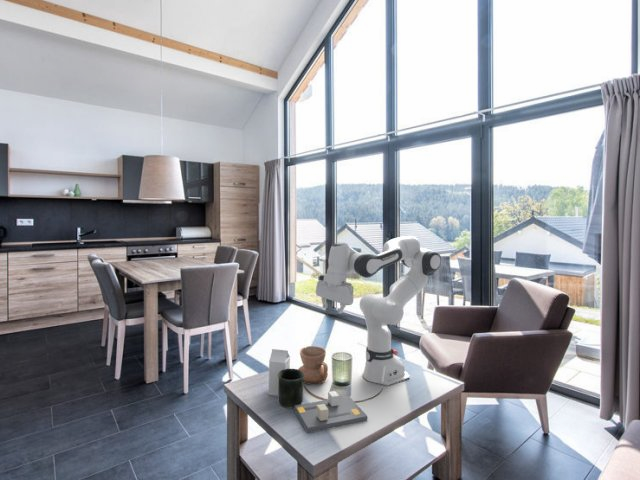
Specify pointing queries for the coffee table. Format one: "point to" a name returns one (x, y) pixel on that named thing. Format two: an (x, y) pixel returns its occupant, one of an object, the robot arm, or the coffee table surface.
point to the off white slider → (333, 398)
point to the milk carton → (277, 368)
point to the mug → (290, 387)
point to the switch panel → (330, 414)
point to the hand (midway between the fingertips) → (332, 310)
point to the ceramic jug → (313, 364)
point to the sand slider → (322, 412)
